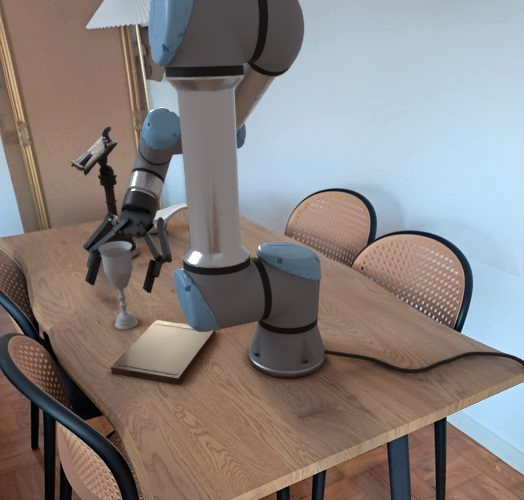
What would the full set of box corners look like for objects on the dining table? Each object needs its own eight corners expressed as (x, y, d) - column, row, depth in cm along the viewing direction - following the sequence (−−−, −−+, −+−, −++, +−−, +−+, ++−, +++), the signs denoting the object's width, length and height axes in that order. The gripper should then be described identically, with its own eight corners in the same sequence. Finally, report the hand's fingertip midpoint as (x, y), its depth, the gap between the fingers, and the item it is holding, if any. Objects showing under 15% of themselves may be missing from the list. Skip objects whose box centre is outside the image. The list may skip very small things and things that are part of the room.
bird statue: (87, 268, 151) (64, 133, 133) (76, 253, 161) (52, 125, 142) (146, 257, 158) (131, 127, 140) (131, 243, 167) (116, 120, 149)
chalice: (133, 333, 120) (123, 254, 111) (104, 329, 121) (91, 252, 112) (146, 317, 126) (137, 242, 117) (118, 314, 128) (107, 240, 118)
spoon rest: (136, 239, 171) (133, 216, 167) (128, 227, 180) (125, 205, 177) (208, 229, 179) (207, 207, 175) (197, 218, 188) (196, 197, 185)
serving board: (215, 334, 120) (215, 328, 119) (178, 385, 103) (178, 378, 102) (156, 325, 123) (156, 319, 122) (111, 373, 107) (110, 366, 106)
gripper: (199, 210, 123) (177, 300, 119) (100, 201, 129) (75, 286, 125) (189, 193, 116) (165, 287, 112) (84, 184, 122) (57, 273, 117)
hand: (117, 286), depth 118 cm, fingers open, 13 cm apart
